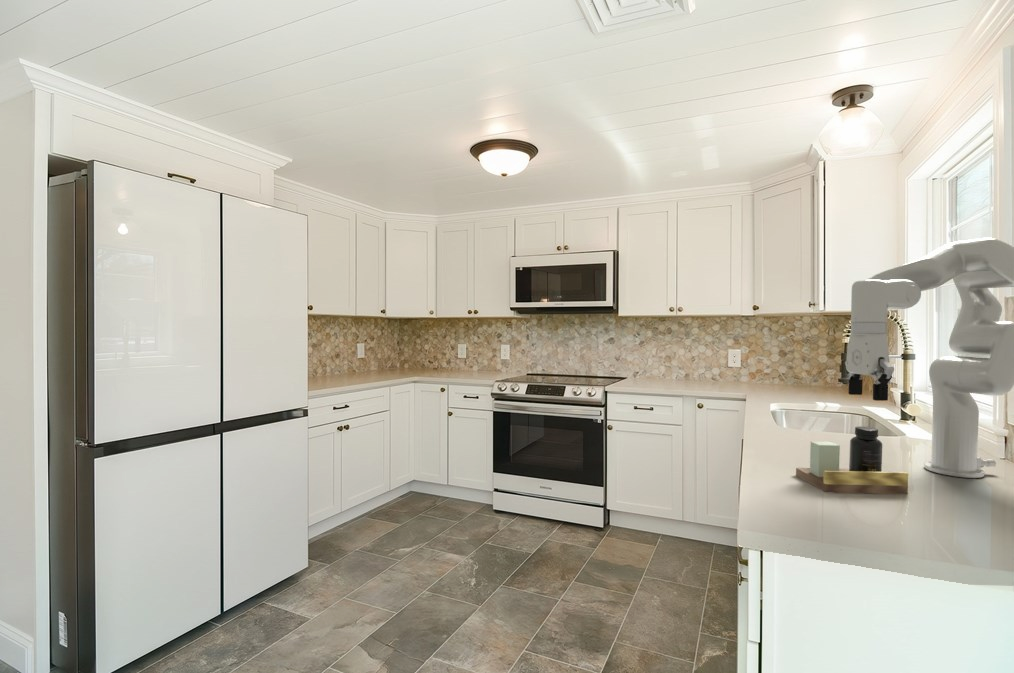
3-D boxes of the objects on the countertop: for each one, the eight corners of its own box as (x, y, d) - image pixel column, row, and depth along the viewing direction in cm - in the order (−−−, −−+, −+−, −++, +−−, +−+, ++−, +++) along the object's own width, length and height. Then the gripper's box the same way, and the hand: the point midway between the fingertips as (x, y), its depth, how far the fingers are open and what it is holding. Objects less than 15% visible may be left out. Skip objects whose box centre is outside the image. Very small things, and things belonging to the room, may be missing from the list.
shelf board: (869, 476, 138) (870, 457, 138) (907, 494, 124) (908, 473, 124) (796, 475, 139) (796, 456, 139) (825, 492, 125) (826, 471, 125)
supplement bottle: (843, 470, 136) (844, 424, 136) (871, 471, 136) (873, 425, 135) (857, 478, 130) (859, 430, 129) (887, 479, 129) (889, 431, 128)
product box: (829, 472, 135) (830, 441, 135) (838, 477, 131) (839, 445, 131) (809, 472, 135) (810, 441, 135) (818, 476, 131) (819, 445, 131)
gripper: (833, 328, 140) (832, 392, 141) (875, 330, 123) (874, 402, 123) (862, 328, 140) (861, 392, 140) (909, 330, 123) (907, 403, 123)
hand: (867, 397), depth 132 cm, fingers open, 9 cm apart
